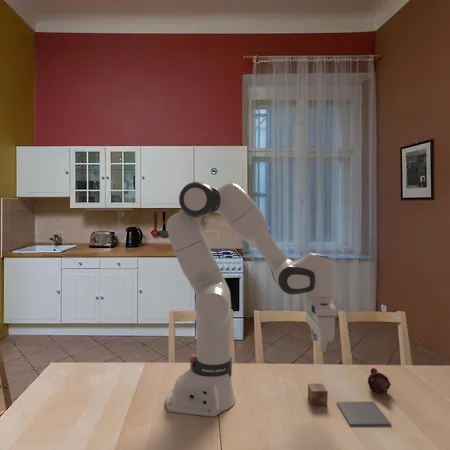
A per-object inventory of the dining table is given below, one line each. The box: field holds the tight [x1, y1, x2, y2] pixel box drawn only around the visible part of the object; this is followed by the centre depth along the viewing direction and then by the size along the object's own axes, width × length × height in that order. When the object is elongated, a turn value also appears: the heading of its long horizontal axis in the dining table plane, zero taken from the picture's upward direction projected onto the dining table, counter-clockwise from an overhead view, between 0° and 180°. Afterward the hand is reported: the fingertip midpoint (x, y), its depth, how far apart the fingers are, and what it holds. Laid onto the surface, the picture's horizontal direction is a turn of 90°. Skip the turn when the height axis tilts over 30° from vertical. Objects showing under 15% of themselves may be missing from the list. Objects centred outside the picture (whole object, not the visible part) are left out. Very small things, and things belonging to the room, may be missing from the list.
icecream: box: [367, 367, 392, 394], centre depth 122 cm, size 7×7×15 cm
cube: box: [307, 383, 329, 407], centre depth 116 cm, size 5×5×5 cm
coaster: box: [336, 401, 392, 427], centre depth 109 cm, size 12×12×1 cm
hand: (318, 345), depth 115 cm, fingers open, 8 cm apart
